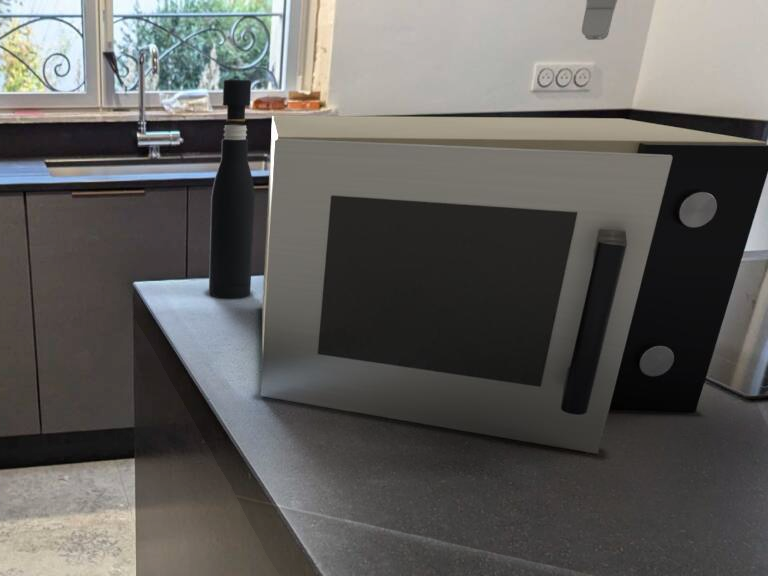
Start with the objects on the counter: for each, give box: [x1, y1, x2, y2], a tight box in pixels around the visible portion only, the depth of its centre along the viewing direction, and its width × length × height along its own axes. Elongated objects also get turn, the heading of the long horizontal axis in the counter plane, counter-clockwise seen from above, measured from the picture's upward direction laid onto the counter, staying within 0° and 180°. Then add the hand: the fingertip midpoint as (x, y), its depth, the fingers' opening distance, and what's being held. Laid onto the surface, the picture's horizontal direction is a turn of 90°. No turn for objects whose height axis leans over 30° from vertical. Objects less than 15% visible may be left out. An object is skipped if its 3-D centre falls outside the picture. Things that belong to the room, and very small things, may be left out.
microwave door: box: [260, 139, 673, 455], centre depth 74 cm, size 8×33×26 cm, turn 64°
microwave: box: [261, 115, 768, 413], centre depth 96 cm, size 35×44×26 cm
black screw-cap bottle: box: [208, 79, 256, 299], centre depth 121 cm, size 6×6×30 cm
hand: (594, 38), depth 64 cm, fingers open, 8 cm apart
